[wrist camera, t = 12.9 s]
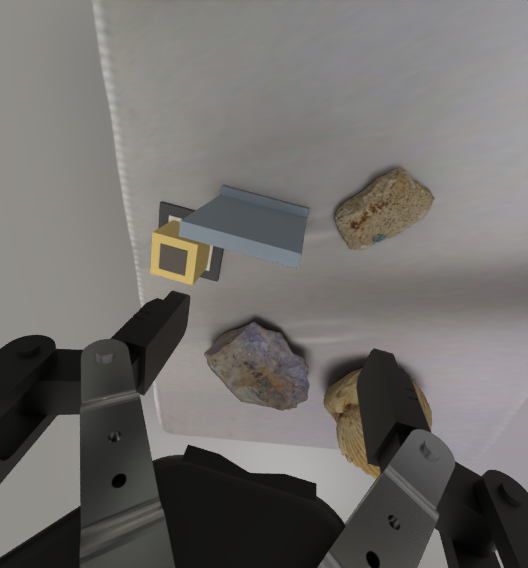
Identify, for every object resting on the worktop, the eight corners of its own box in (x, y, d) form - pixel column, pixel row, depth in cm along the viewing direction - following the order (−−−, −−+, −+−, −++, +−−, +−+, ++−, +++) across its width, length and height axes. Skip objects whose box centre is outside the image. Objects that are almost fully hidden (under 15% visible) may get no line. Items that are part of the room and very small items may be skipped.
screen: (223, 185, 40) (181, 208, 28) (309, 208, 40) (305, 242, 27) (219, 213, 42) (177, 247, 30) (300, 235, 42) (293, 279, 29)
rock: (324, 212, 40) (324, 221, 36) (401, 153, 35) (411, 156, 31) (357, 254, 42) (361, 267, 38) (434, 203, 37) (447, 212, 33)
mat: (161, 201, 43) (159, 202, 42) (228, 219, 42) (227, 221, 42) (158, 263, 47) (156, 264, 47) (218, 280, 47) (217, 282, 46)
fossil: (360, 333, 47) (376, 411, 34) (441, 388, 49) (486, 480, 36) (303, 385, 54) (298, 466, 41) (376, 431, 56) (394, 522, 43)
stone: (306, 369, 37) (300, 446, 44) (318, 323, 46) (312, 393, 53) (182, 342, 42) (194, 416, 49) (215, 306, 51) (221, 372, 58)
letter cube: (171, 219, 43) (150, 232, 37) (212, 231, 43) (197, 245, 37) (168, 256, 46) (148, 273, 40) (207, 267, 45) (192, 286, 40)
